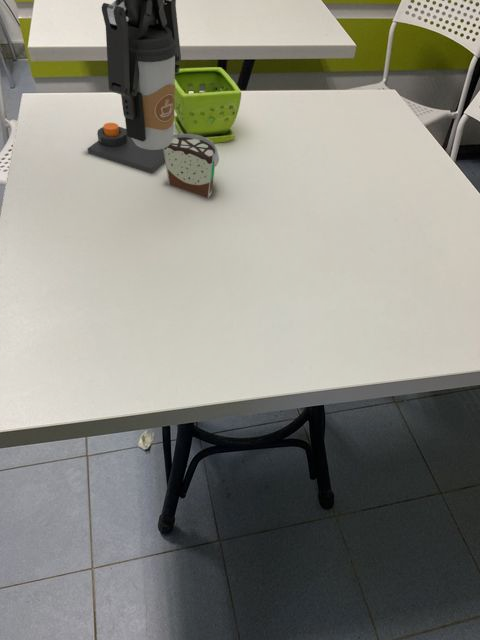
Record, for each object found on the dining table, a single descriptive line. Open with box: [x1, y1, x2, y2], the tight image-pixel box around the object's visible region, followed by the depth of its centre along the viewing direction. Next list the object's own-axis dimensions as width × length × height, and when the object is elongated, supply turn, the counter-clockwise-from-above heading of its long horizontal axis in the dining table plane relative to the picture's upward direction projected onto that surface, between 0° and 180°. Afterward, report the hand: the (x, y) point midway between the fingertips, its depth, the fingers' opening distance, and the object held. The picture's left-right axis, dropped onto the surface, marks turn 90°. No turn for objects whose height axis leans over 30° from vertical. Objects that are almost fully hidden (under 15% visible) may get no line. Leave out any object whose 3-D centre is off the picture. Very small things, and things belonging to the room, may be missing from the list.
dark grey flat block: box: [87, 125, 166, 174], centre depth 110 cm, size 17×12×4 cm
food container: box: [163, 133, 220, 199], centre depth 101 cm, size 12×6×10 cm, turn 65°
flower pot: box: [174, 66, 242, 144], centre depth 114 cm, size 14×14×13 cm
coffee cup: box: [128, 24, 177, 150], centre depth 71 cm, size 8×8×15 cm
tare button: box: [102, 122, 120, 136], centre depth 109 cm, size 3×3×2 cm
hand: (151, 126), depth 75 cm, fingers closed on coffee cup, 8 cm apart
